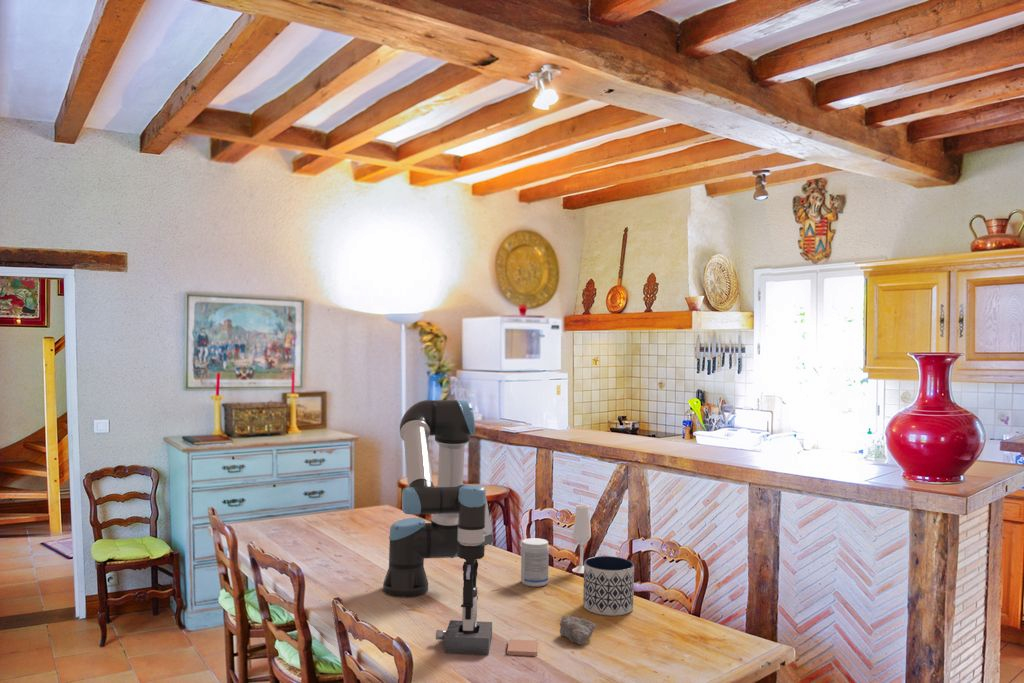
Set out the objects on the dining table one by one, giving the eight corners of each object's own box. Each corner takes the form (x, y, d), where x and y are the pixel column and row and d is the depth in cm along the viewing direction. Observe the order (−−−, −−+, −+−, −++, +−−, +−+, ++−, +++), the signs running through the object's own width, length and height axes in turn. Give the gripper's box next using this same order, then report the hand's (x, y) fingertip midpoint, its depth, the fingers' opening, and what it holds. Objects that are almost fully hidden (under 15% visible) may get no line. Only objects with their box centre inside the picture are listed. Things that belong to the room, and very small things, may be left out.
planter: (601, 619, 232) (602, 572, 232) (573, 603, 247) (574, 559, 247) (643, 612, 240) (644, 566, 240) (614, 597, 254) (615, 553, 254)
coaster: (507, 654, 205) (507, 650, 205) (508, 642, 213) (508, 639, 213) (537, 655, 204) (537, 652, 204) (537, 644, 212) (537, 640, 212)
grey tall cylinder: (475, 641, 208) (476, 590, 208) (460, 641, 208) (462, 590, 208) (476, 636, 212) (478, 586, 212) (462, 635, 212) (463, 585, 212)
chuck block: (432, 652, 205) (433, 635, 205) (439, 635, 217) (439, 619, 217) (488, 655, 204) (488, 638, 204) (491, 637, 216) (492, 622, 216)
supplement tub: (553, 584, 265) (554, 542, 265) (531, 589, 260) (532, 546, 260) (537, 577, 273) (538, 536, 273) (515, 581, 268) (516, 539, 268)
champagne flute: (585, 574, 278) (586, 508, 278) (568, 571, 281) (570, 506, 281) (593, 570, 284) (594, 505, 284) (577, 566, 287) (578, 503, 287)
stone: (553, 640, 216) (553, 619, 216) (566, 631, 223) (566, 611, 223) (584, 648, 211) (585, 627, 211) (596, 638, 218) (597, 618, 218)
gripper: (481, 551, 202) (479, 639, 202) (487, 535, 219) (485, 616, 219) (453, 550, 202) (451, 638, 202) (461, 534, 219) (459, 615, 219)
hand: (469, 626), depth 210 cm, fingers closed on grey tall cylinder, 4 cm apart
